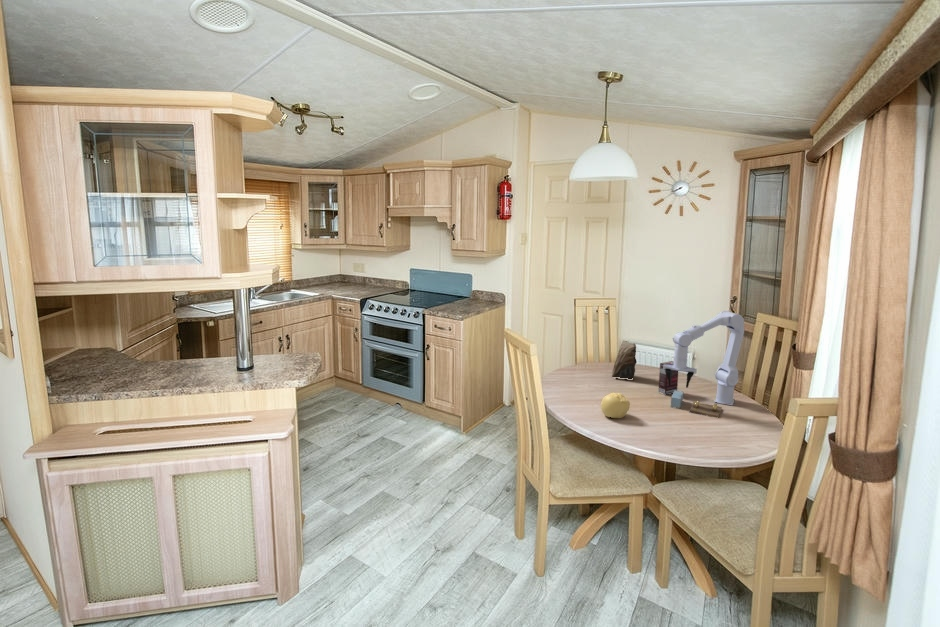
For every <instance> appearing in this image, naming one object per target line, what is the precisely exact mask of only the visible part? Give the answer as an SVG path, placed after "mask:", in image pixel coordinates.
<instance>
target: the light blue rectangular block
mask: <svg viewBox="0 0 940 627" xmlns="http://www.w3.org/2000/svg"><path fill="white" fill-rule="evenodd" d="M683 400H684V391H681V390H677V391H675V390H674V392H673V394H671V399H670V408H673V407H676V408H675V409H679V408H680V409H681V407H682V404H683ZM681 403H682V404H681Z"/></svg>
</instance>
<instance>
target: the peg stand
mask: <svg viewBox="0 0 940 627" xmlns="http://www.w3.org/2000/svg"><path fill="white" fill-rule="evenodd" d="M722 408H723V406H718V403H714V404H713V405H712V404H707V403H706V404H705V403H702V402H700V401H699V400H696V402H695V401H693V403H692V405H691V407H690V409H689V413H690V412H691V413H692V414H697V415H701V414H702V415H703V416H706V415H708V417H712V416H713V417H714V418H717V417H718V418H719V417H720V414H721V412H722ZM713 417H712V418H713Z"/></svg>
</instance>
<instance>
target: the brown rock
mask: <svg viewBox="0 0 940 627" xmlns="http://www.w3.org/2000/svg"><path fill="white" fill-rule="evenodd" d="M636 353H637V345H636V343H634V342H633V343H632V342H629V341H627V340H624V339H623V340H622V342H621V344H620V346H619V349H618V353H617V355H616V357H615V361H614V363H613V368H612V372H611V373H612V374H611V378H612V377H620V378H628V379H632V378H634V377H635V373H636V368H635V367H636V364H637V358H636V356H637V355H636Z"/></svg>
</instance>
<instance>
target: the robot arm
mask: <svg viewBox="0 0 940 627" xmlns="http://www.w3.org/2000/svg"><path fill="white" fill-rule="evenodd" d="M718 326H723V327H726V328H727V329H728V330H729V331H730V334H729V338H728V343H727V346H726V350H725V354H724V357H723V362H722V363H721V364H719V365H718V368H717V370H716V371H715V373H714V377H715V379H716V381H717V385H716V397H715V399H714V401H713V402H714V403H715V402H717V403H716V404H722V405H729V406H733V405H734V402H735V399H736V398H734V394H735V393H734V392H735V387H736V385H737V384H738V382H739V370H738V368H737V362H738V358H739V355H740V351H741V347H742V342H743V339H744V335H745V330H746V329H745V318H744V317H743V316H742V315H741V314H738V313H734V312H730V311H729V310H723V311H721V312H719V313H717V315H716V316H714V317H712V318H711V319H709V320H707V321H705V322H704V323H702V324H701V325H699V324H693V325H691V327H689V328H688V329H685V330H683V331H682V332H676V333H675V335H673V337H672V341H673V343H674V351H673V352H674V353H673V361H674V365H665V364H664V365H663V369H666V370H665V373H666V375H667V378H668V382H669V385H671V376H672V370H675V371H678V372H682V373H686V384H685V388H689V385H690V382H691V380H692V377H693V376H694V374H695V375H696V374H697V371H698V370H697V368H693V367H689V366H687V365H688V351H689V347H690V346H691V344H692V342H694V341H696V340H697V339H699V338H701V337H703V336H704V335H705V332H707V331H710V330H711V329H714V328H717V327H718Z"/></svg>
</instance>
